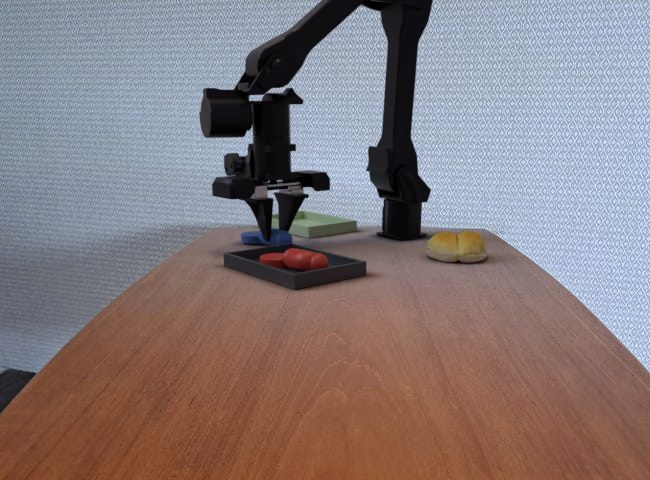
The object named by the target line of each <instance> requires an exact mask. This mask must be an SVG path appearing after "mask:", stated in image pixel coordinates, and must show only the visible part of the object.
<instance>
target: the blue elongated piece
mask: <svg viewBox="0 0 650 480" xmlns="http://www.w3.org/2000/svg"><path fill="white" fill-rule="evenodd" d="M293 240H294V239H293V236H292V234H290V233H289V232H287V231H284V230H280V229H276V228H272V229H271V237H270V241H265V240H264V238H263V236H262V233H261V231H260V229H259V230H257V231H256V230H252V231H245V232H241V233H240V241H241V243H244V244H245V243H246V244H264V245H267V246H273V245H280V244H286V243H293Z"/></svg>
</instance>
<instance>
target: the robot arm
mask: <svg viewBox="0 0 650 480" xmlns="http://www.w3.org/2000/svg"><path fill="white" fill-rule="evenodd" d="M433 2H434V0H321V1H320V0H319V2H318V3H317V4H316V5H314V7H312V8H311V9H310V10H309V11H308V12H307V13H306V14H305V15H304V16H302V17H301V18H300V19H299V20H298V21H297V22H296V23H295V24H293V25H292V26H291V27H290V28H289V29H287V30H286V31H284V32H283V33H280V34H279V35H276V36H275V37H273V38H271V39H269V40H267V41H265V42H263V43H262V44H260V45H259V46H257V47H255V48H253V49H252V50H251V51H250V52H249V53H248V55H247V56H246V58H245V61H244V62H245V63H244V64H245V65H244V72H243V74H242V75H241V76H240V78H239V80H238V81H237V82H236V84H235V86H234V88H233V89H222V88H221V89H220V88H217V87H203V89H202V99H201V103H200V111H199V113H198V114H199V122H200V123H199V124H200V130H201V132H202V136H203V137H204V138H205V139H226V138H227V139H228V138H230V139H232V138H245V137H246V135H247V133H248V132H250V131H251V129H252V142H251V143H248V145H247V154H246V155H241V156H240V154H239V153H238V152H228V153H226V154H225V155H223V168H224V174H225V175H226V176H216V177H215V178H214V180H213V182H212V184H211V193H212V197H216V198H221V199H226V200H239V201H243V202H245V204H247V206H248V207H249V208H250V210H251V212H252V214H253V215H254V218H255V220H256V223H257V227H258V229H259V230H260V231H261V233H262V236H263V238H264V240H265V241H270V237H271V229H272V214H274V213H273V211H274V210H273V209H274V198H275V200H276V202H277V207H278V213H277V214H279V229H280V230H284V231H287V232H289V230H290V227H291V225H292V223H293V220H294V218H295V216H296V214H297V212H298V211H300V208H301V206H302V204H304V203H303V202H304V201H305V199H308V198H310V193H309V194H308V193H304V188H311V189H313V191H314V192H325V191H331V178H330V176H329V175H328V172H327V171H320V170H312V169H311V170H310V169H309V170H295V171H292V152H297V144H296V143H292V140H291V138H292V137H291V134H292V133H291V105H303V104H304V99H303V98H301V96H300V95H299V94H297V92H296V91H295V90H294V87H286V86H287V85H289V84H290V83H291V81H292V80H293V79H294V78H295V76H296V75H297V74H298V73H299V71H300V70H301V68H302V67H303V65H304V63H305V62H306V60H307V58H308V56H309V54H310V53H311V51H312V50H313V49H315V47H316V46H317V45H318V44H319V43H321V42H322V41H323V40H324V39H325V38H326V37H327V36H328V35H330V34H331V33H332V31H334V30H335V29H337V27H338V26H340V24H342V23H343V22H344V21H345V20H346V19H347V18H348V17H349V16H351V15H352V14H353V13H354V12H355V11H356V10H357V9H358V8H359V7H360V6H361V7H365V8H367V9H369V10H371V11H375V12H380V21H381V26H382V28H383V31H384V35H385V38H386V40H387V48H386V49H387V51H386V67H385V79H384V97H383V110H382V125H381V135H380V138H379V140H378V142H377V144H376V146H373V145H369V146H368V149H367V156H368V157H367V158H368V161H367V162H368V163H367V166H366V169H365V171H366V172H368V173H369V174H368V175H369V181H370V182H371V183H372V184H373V187H375V188H376V192H377V195H378V198H379V199H383V207H382V209H381V210H382V211H381V212H382V214H381V231H376V234H375V235H376V236H380V237H385V238H390V239H394V240H399V241H404V240H410V239H416V238H423V237H427V236H428V233H427V232H424V231H422V213H423V212H422V210H423V203H428V202H429V198H430V196H431V192H432V189H431V187H429V185H428V184H427V183H426V182H425V181H424V179H423V178H422V177H421V176H420V175H419V163H418V154H417V151H416V147H415V145H414V142H413V140H412V128H413V114H414V103H415V91H416V89H415V88H416V76H417V65H418V64H417V63H418V53H419V51H418V50H419V42H420V39H421V37H422V36H423V34H424V32H425V29H426V28H427V26H428V23H429V21H430V16H431V12H432V7H433ZM284 87H285V89H284V90H283V91H282V92H269V91H271V89H282V88H284ZM250 96H262V97H261V100H250ZM268 191H269V192H270V191H274V192H273V195H274V198H273V197H268Z"/></svg>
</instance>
